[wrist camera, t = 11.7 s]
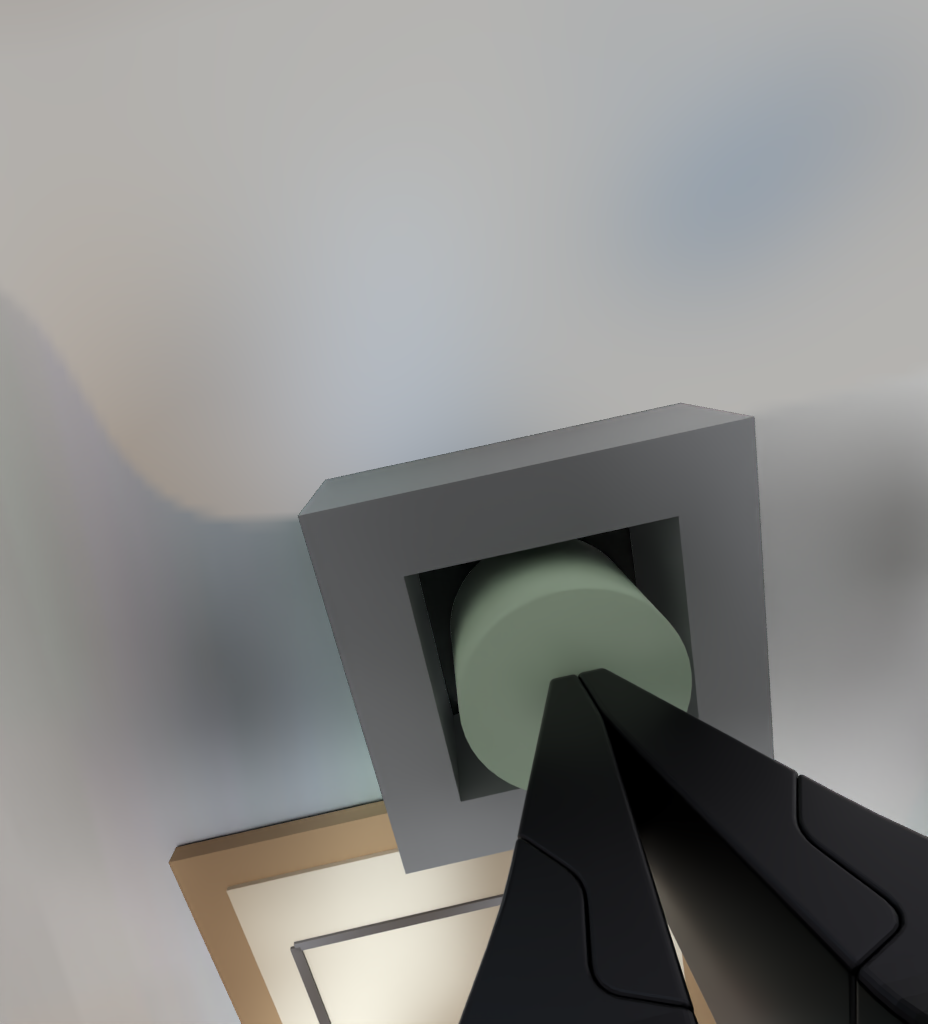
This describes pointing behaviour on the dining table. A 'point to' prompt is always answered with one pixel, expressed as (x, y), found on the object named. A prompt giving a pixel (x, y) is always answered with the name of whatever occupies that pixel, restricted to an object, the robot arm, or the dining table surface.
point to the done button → (551, 644)
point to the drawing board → (345, 922)
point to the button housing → (520, 526)
